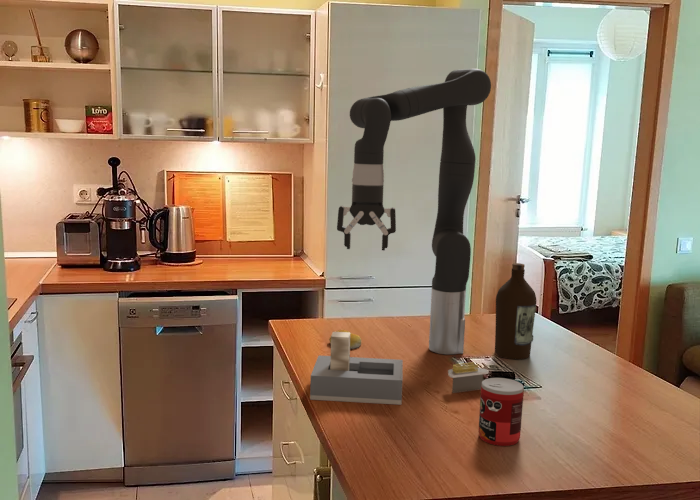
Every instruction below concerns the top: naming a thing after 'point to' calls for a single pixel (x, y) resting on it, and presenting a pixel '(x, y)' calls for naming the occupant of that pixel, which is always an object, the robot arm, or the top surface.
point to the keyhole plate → (358, 381)
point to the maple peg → (340, 351)
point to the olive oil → (515, 316)
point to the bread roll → (352, 339)
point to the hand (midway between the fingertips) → (365, 249)
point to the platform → (466, 377)
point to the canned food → (500, 411)
